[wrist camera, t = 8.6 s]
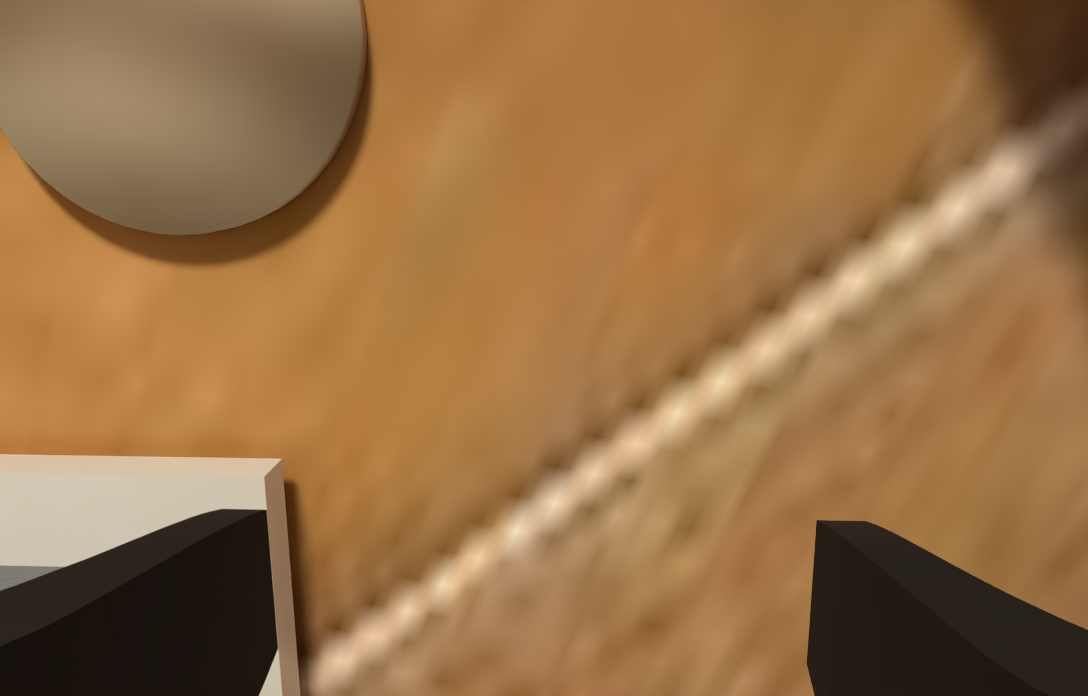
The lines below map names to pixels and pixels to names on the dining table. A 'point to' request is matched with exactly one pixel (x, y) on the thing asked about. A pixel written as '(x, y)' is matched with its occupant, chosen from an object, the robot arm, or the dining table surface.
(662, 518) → the dining table surface
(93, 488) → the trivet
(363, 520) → the dining table surface
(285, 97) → the metal coaster
